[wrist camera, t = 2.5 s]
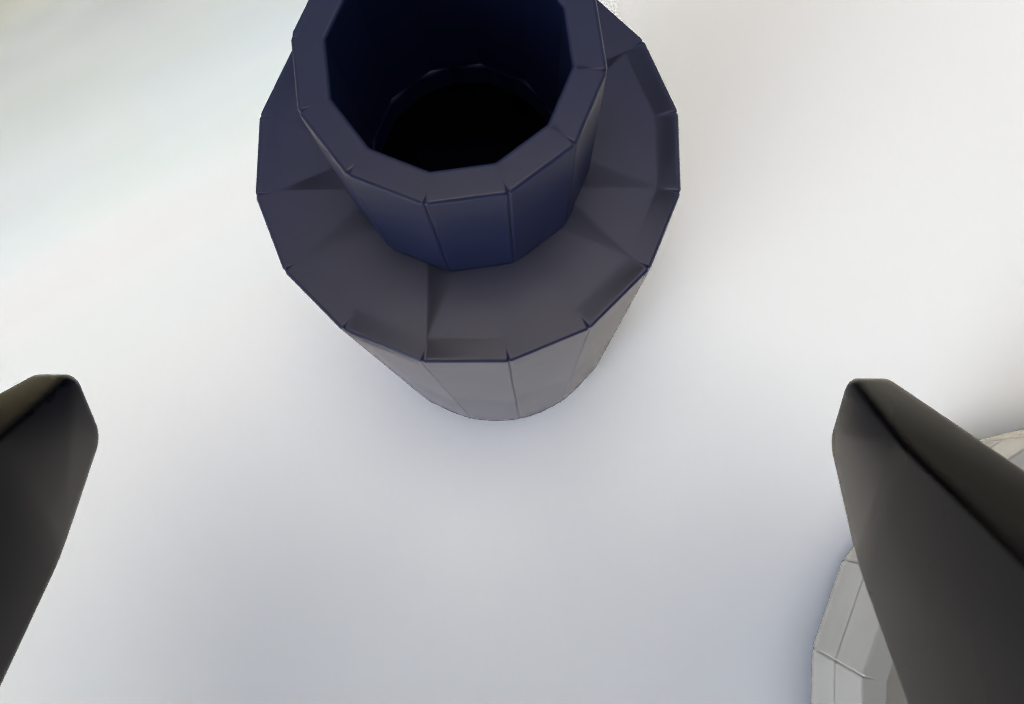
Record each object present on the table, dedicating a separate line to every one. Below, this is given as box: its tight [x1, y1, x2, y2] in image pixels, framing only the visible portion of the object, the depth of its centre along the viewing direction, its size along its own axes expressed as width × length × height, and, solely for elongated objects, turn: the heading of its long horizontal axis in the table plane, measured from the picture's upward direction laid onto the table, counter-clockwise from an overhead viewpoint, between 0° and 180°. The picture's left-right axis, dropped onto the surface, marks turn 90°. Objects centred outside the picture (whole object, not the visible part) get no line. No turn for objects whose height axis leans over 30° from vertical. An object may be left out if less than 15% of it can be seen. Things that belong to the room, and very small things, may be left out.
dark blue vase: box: [256, 0, 681, 421], centre depth 14 cm, size 6×6×12 cm
